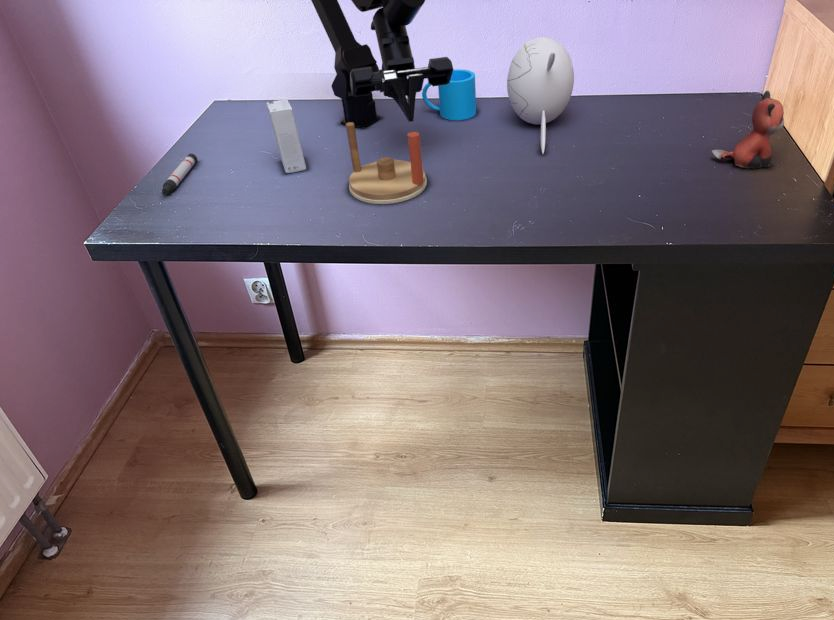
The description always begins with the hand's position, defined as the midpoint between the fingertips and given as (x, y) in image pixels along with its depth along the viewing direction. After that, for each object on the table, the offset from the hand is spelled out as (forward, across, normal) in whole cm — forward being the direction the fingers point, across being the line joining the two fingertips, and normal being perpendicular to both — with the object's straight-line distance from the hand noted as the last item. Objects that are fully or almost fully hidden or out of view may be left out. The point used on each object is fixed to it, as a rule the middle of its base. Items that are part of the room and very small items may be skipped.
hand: (411, 120), depth 121 cm
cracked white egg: (0, -29, -13) cm, 32 cm away
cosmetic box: (0, +23, -14) cm, 26 cm away
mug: (-10, -13, -24) cm, 29 cm away
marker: (-1, +44, -15) cm, 47 cm away
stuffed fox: (+20, -59, +7) cm, 62 cm away
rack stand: (+10, +6, -3) cm, 12 cm away
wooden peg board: (+10, +6, -2) cm, 12 cm away
